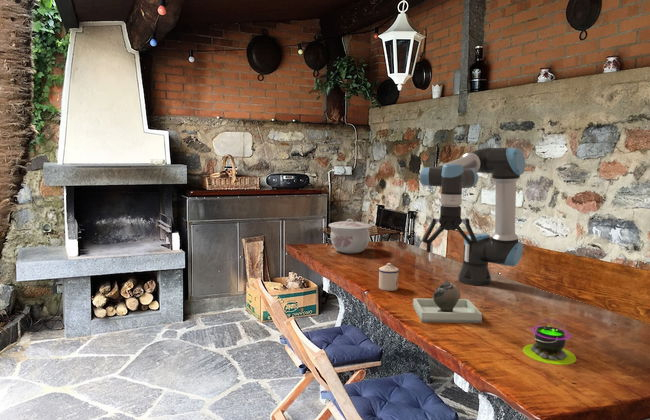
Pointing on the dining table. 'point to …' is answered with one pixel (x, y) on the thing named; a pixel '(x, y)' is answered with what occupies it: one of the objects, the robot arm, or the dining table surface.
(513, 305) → the dining table surface
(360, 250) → the chamber pot
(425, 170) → the robot arm
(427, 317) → the serving tray
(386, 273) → the teacup with lid
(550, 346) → the toy cauldron
